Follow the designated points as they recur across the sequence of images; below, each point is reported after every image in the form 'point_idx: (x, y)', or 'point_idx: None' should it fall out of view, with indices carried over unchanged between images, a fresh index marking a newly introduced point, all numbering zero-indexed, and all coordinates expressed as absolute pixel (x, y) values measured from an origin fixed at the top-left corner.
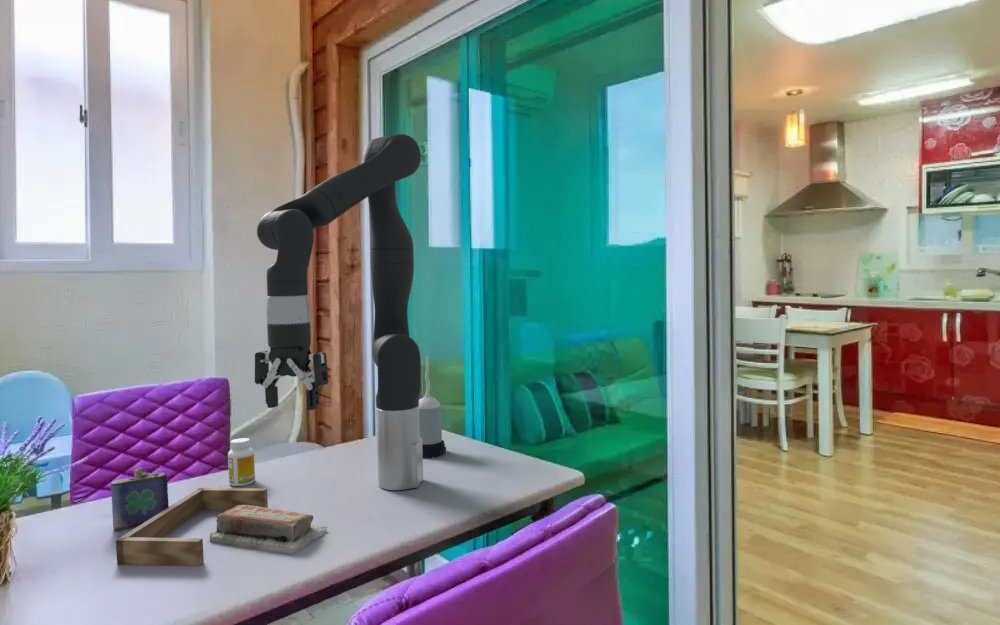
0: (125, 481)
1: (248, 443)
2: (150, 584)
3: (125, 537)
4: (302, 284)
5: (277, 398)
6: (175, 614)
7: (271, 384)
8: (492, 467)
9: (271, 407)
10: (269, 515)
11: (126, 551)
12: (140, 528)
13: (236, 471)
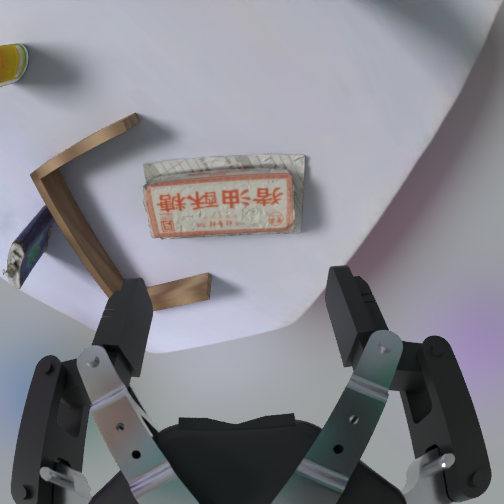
0: (18, 280)
1: None
2: (200, 311)
3: None
4: None
5: (134, 301)
6: (267, 329)
7: (127, 382)
8: None
9: (152, 307)
10: (234, 218)
11: None
12: (111, 294)
13: (4, 83)
